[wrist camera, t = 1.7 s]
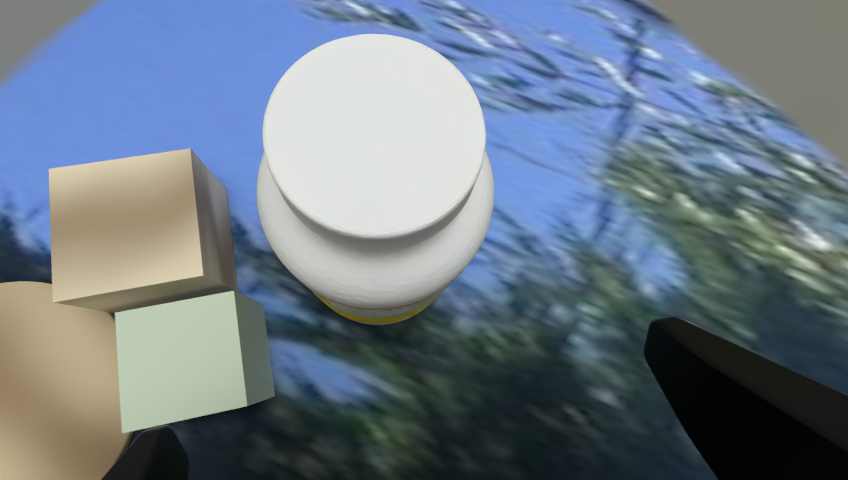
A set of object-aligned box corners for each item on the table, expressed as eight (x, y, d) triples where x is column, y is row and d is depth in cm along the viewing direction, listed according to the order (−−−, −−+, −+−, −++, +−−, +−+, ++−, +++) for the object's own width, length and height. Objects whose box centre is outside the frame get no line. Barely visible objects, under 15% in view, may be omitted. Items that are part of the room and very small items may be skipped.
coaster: (86, 567, 18) (76, 574, 18) (-179, 513, 18) (-197, 518, 17) (176, 312, 21) (170, 310, 20) (-54, 260, 20) (-66, 257, 20)
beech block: (239, 292, 21) (203, 275, 17) (121, 314, 21) (52, 302, 16) (227, 189, 22) (190, 148, 18) (115, 206, 22) (48, 168, 17)
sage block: (275, 396, 20) (247, 406, 16) (178, 417, 20) (121, 433, 15) (263, 304, 21) (233, 290, 17) (170, 322, 21) (114, 312, 16)
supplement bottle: (314, 183, 23) (236, -26, 10) (450, 193, 23) (531, 4, 11) (299, 324, 21) (184, 275, 9) (446, 331, 22) (536, 295, 9)
